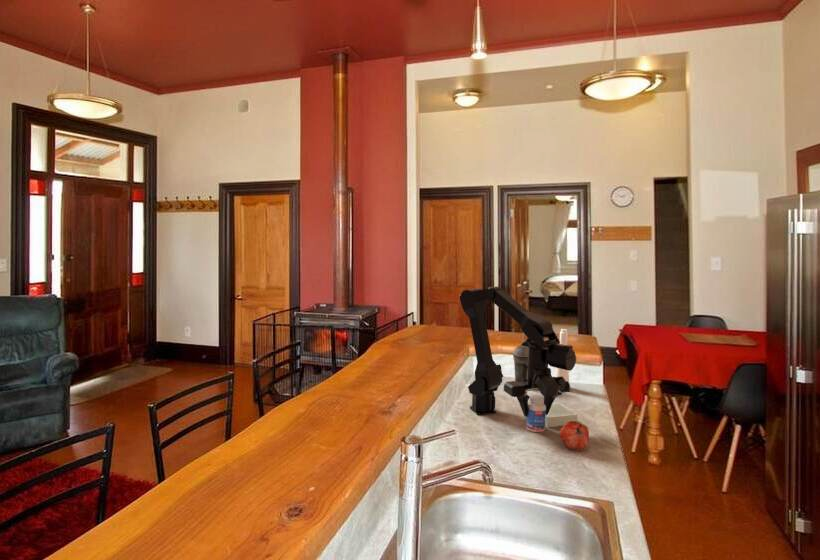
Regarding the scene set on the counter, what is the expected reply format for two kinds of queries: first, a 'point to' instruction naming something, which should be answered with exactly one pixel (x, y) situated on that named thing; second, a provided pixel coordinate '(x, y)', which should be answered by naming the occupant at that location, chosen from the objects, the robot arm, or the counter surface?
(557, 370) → the cosmetic bottle
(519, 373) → the beverage cup
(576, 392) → the counter surface
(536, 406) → the pill bottle
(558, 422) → the plinth
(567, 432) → the pomegranate
